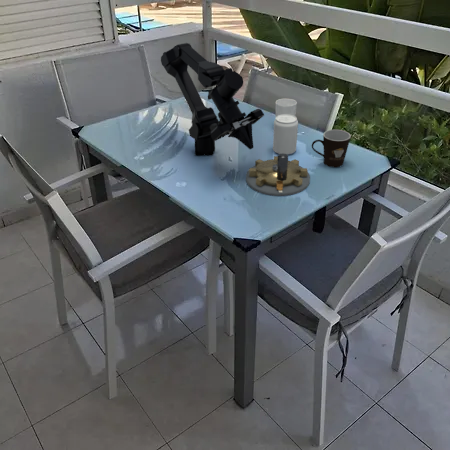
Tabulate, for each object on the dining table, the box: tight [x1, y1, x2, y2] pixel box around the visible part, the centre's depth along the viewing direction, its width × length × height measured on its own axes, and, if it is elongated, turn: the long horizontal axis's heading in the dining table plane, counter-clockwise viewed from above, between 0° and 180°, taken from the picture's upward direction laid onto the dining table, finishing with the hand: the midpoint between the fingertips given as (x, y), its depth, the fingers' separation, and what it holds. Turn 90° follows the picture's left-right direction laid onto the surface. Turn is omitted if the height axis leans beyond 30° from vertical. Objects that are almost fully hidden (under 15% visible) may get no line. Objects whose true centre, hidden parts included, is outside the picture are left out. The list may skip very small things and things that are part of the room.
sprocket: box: [248, 154, 309, 190], centre depth 147 cm, size 18×18×10 cm
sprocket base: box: [245, 165, 311, 197], centre depth 150 cm, size 20×20×1 cm
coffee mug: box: [311, 129, 352, 168], centre depth 157 cm, size 12×9×10 cm
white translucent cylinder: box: [275, 98, 298, 118], centre depth 180 cm, size 8×8×10 cm
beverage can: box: [272, 114, 299, 156], centre depth 164 cm, size 8×8×12 cm
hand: (251, 148), depth 146 cm, fingers closed
